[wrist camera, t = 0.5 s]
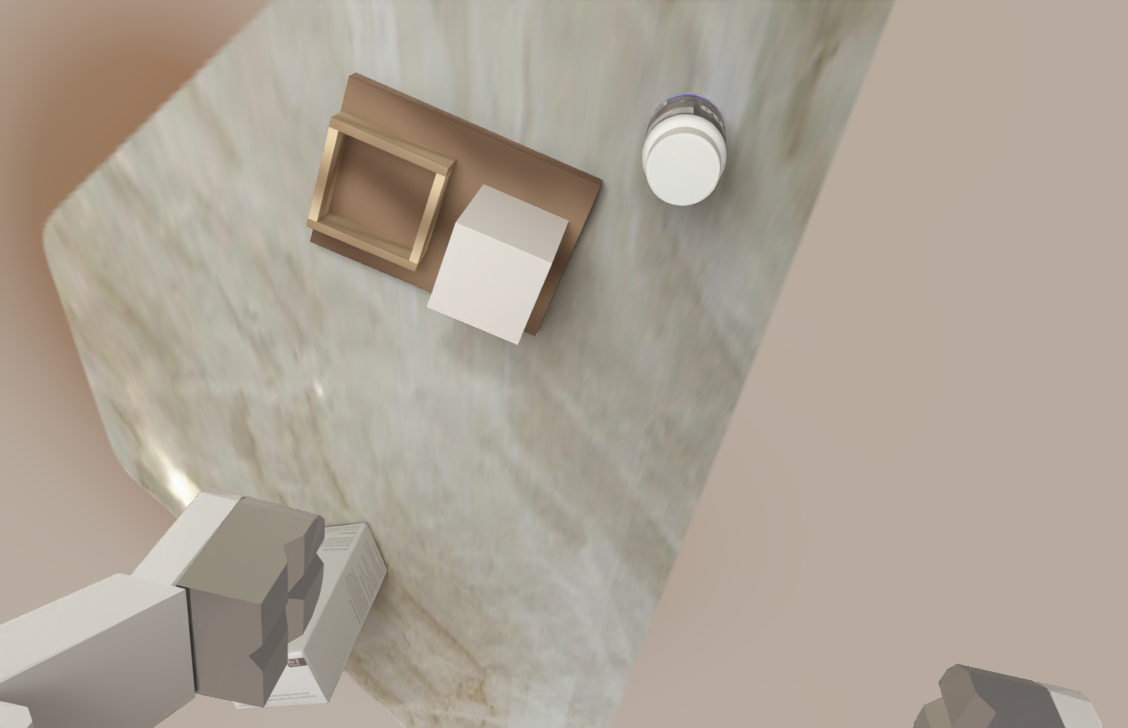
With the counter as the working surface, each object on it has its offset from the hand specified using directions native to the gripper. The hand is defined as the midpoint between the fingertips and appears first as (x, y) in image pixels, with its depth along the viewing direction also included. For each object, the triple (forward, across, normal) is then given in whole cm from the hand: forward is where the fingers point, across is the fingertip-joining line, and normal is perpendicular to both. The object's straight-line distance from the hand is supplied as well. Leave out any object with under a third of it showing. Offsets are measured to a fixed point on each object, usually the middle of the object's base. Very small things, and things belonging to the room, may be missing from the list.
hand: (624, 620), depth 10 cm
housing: (+43, +8, +13) cm, 45 cm away
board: (+44, +12, +12) cm, 47 cm away
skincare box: (+45, +20, +47) cm, 68 cm away
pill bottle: (+44, -1, +4) cm, 44 cm away
